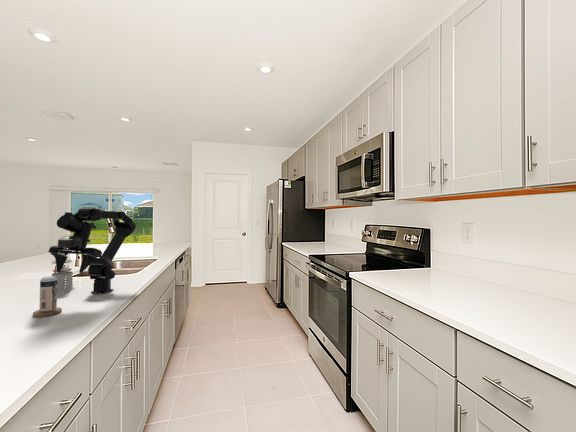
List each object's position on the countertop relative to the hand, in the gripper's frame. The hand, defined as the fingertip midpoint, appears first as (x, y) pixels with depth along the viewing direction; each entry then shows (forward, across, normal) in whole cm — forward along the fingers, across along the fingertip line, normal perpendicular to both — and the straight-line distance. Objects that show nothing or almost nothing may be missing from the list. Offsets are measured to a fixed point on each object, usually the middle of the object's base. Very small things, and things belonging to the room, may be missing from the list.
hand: (69, 272), depth 115 cm
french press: (+6, -18, +23) cm, 30 cm away
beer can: (+15, +2, -6) cm, 17 cm away
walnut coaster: (+16, +2, -6) cm, 17 cm away
